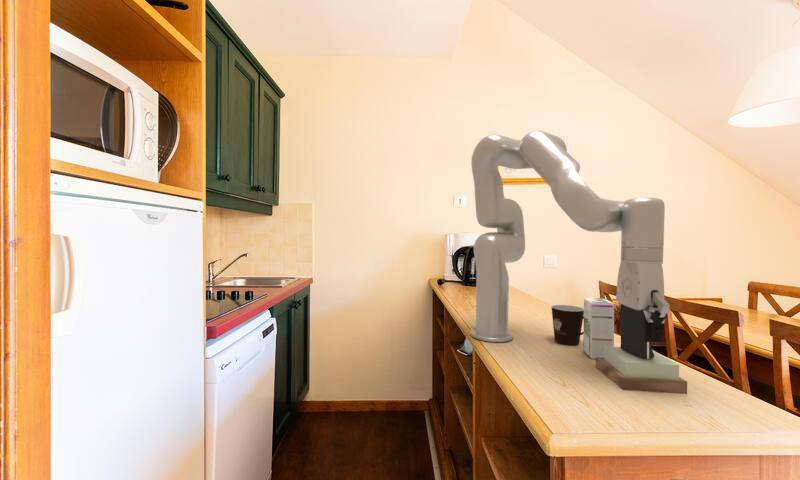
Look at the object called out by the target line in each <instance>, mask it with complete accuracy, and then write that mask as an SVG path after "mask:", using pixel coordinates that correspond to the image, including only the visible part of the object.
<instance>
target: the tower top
mask: <svg viewBox="0 0 800 480" xmlns="http://www.w3.org/2000/svg"><path fill="white" fill-rule="evenodd" d="M652 351H653V353H654V358H649V359H643V358H640V357H638V356H635V355H633V354H630V353H628V352H626V351H624V350H622V349H621V346H614V347H608V346H604V360H605V361H607V362H608V363H609V364H610V365H612V366H613V367H614V368H615V369H616V370H618V371H619V372H620V373H621V374H623V375H624V376H625V377H640V378H656V379H671V380H679V377H680V364H678V363H677V362H674V361H673V360H671V359H669V358H668V357H665V356H664V355H662V354H661V353H659V352H657V351H656V350H654V349H652Z"/></svg>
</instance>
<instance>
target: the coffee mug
mask: <svg viewBox="0 0 800 480" xmlns="http://www.w3.org/2000/svg"><path fill="white" fill-rule="evenodd" d="M551 314H552V315H551V316H552V318H551V319H552V324H553V336H554V342H555V343H557V344H559V345H564V346H570V347H571V346H572V347H573V346H575V347H576V346H579V345H580V340H581V336H583V332H584V331H582V329H583V323H584V307H580V306H576V305H569V304H568V305H567V304H555V305H554V304H553V305H551Z"/></svg>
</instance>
